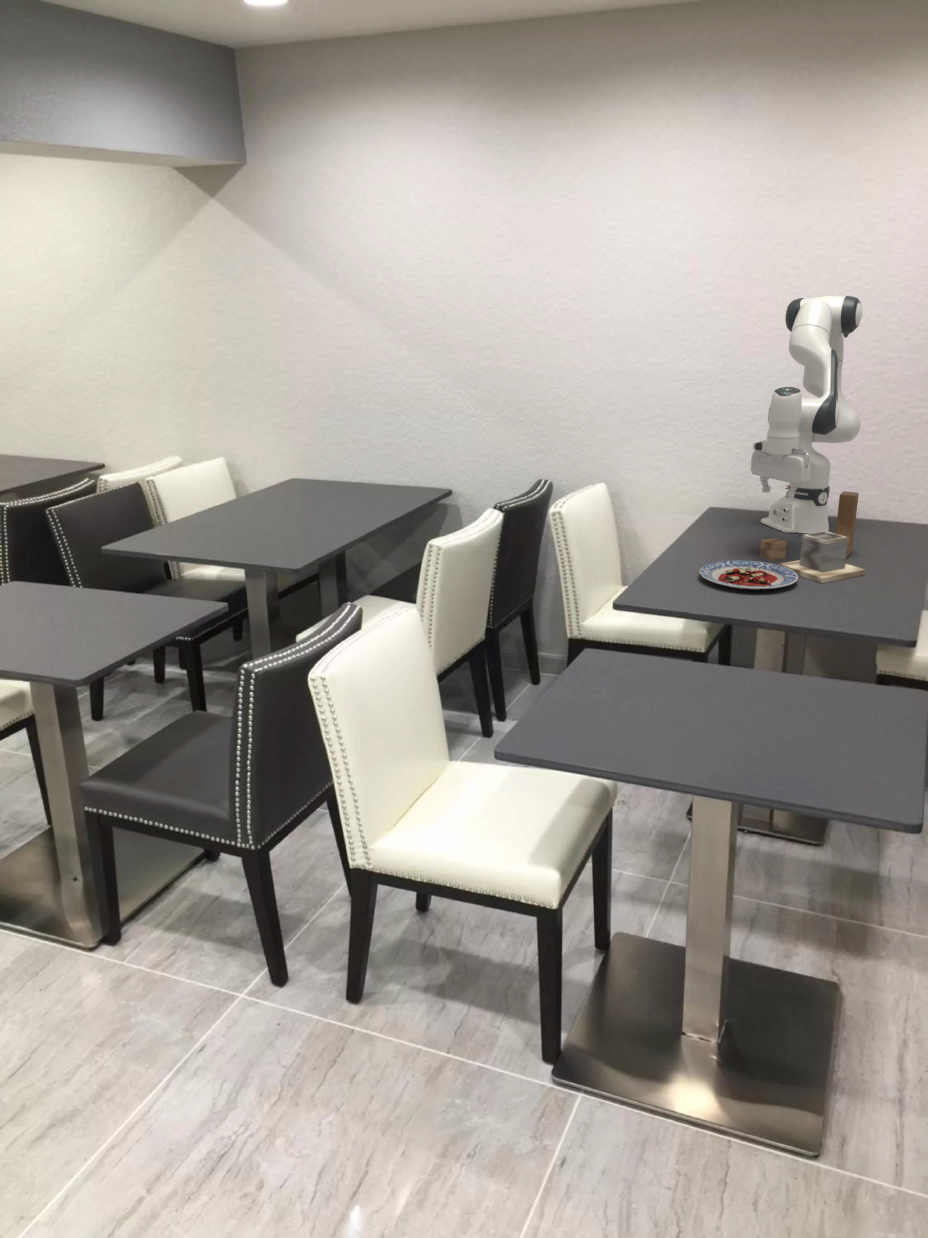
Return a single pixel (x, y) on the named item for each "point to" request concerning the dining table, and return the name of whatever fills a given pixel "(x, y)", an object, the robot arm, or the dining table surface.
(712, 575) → the ceramic plate
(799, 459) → the robot arm
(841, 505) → the wooden block
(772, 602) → the dining table surface
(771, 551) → the walnut cube
